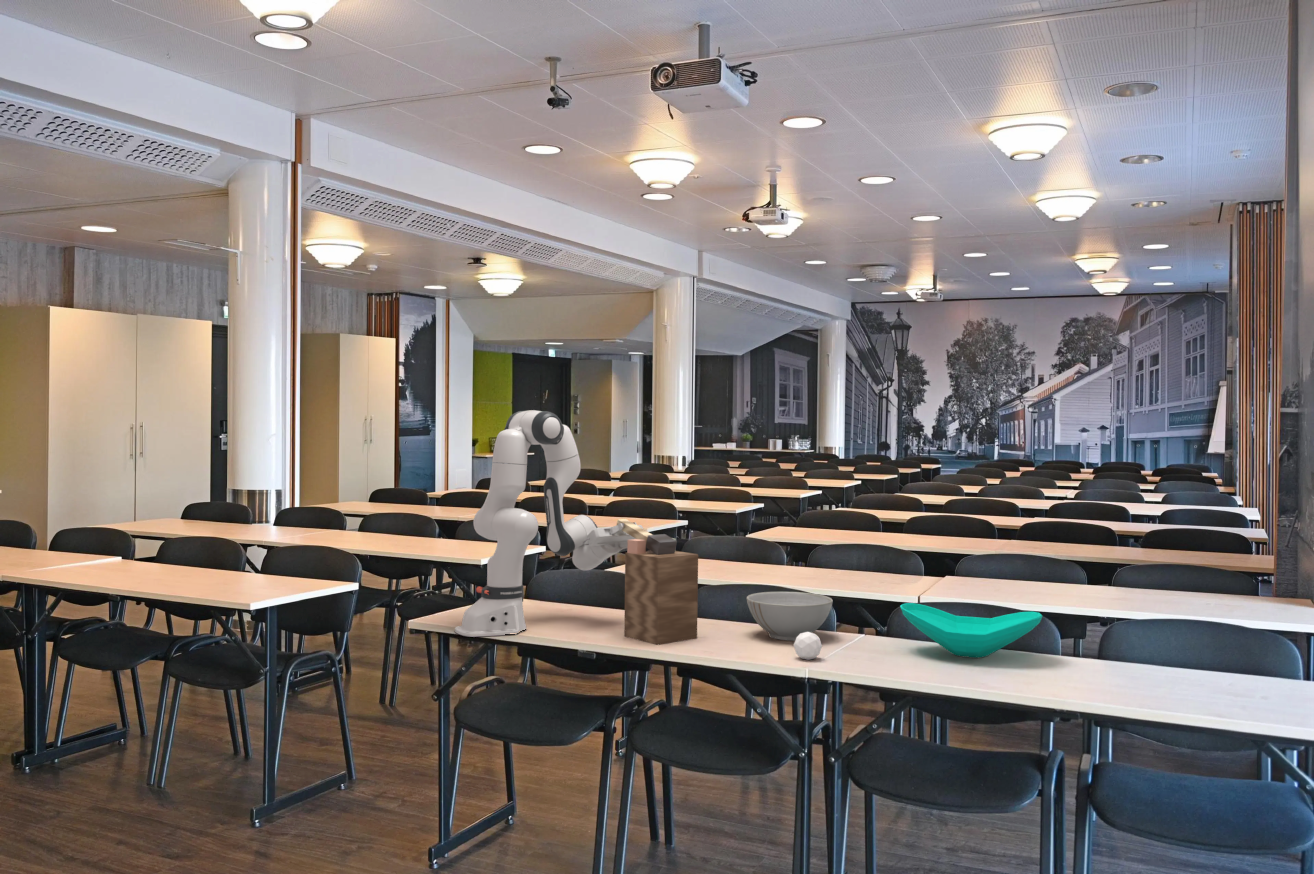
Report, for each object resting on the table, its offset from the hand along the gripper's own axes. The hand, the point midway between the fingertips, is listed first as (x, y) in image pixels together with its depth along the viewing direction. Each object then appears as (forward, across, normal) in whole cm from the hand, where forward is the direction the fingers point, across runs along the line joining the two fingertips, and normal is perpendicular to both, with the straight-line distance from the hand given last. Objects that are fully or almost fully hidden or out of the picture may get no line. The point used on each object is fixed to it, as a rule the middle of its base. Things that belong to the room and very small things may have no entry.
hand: (629, 524), depth 337 cm
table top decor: (+61, +55, +74) cm, 111 cm away
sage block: (+7, +6, +13) cm, 15 cm away
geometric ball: (+39, +14, +61) cm, 74 cm away
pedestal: (-3, 0, +37) cm, 37 cm away
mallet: (+4, 0, +7) cm, 8 cm away
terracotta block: (+6, -6, +12) cm, 14 cm away
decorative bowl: (+17, +33, +49) cm, 62 cm away
